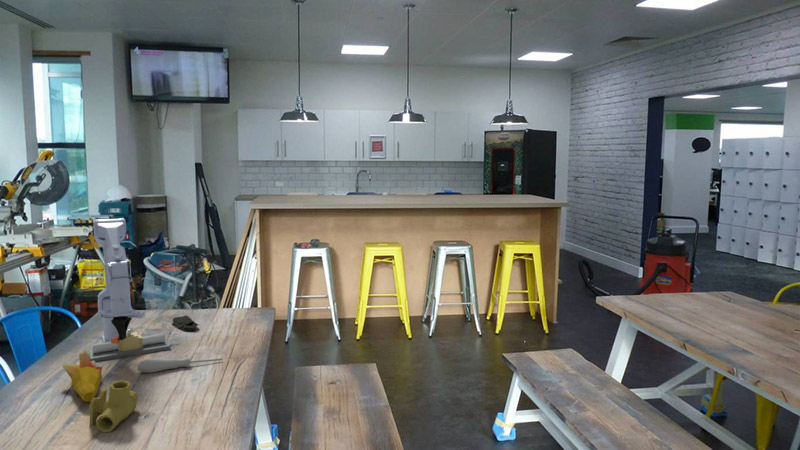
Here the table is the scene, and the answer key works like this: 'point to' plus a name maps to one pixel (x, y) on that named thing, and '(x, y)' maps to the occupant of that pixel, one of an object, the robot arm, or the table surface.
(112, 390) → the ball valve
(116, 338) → the valve lever
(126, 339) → the valve stand
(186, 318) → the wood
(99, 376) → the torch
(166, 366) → the screwdriver
